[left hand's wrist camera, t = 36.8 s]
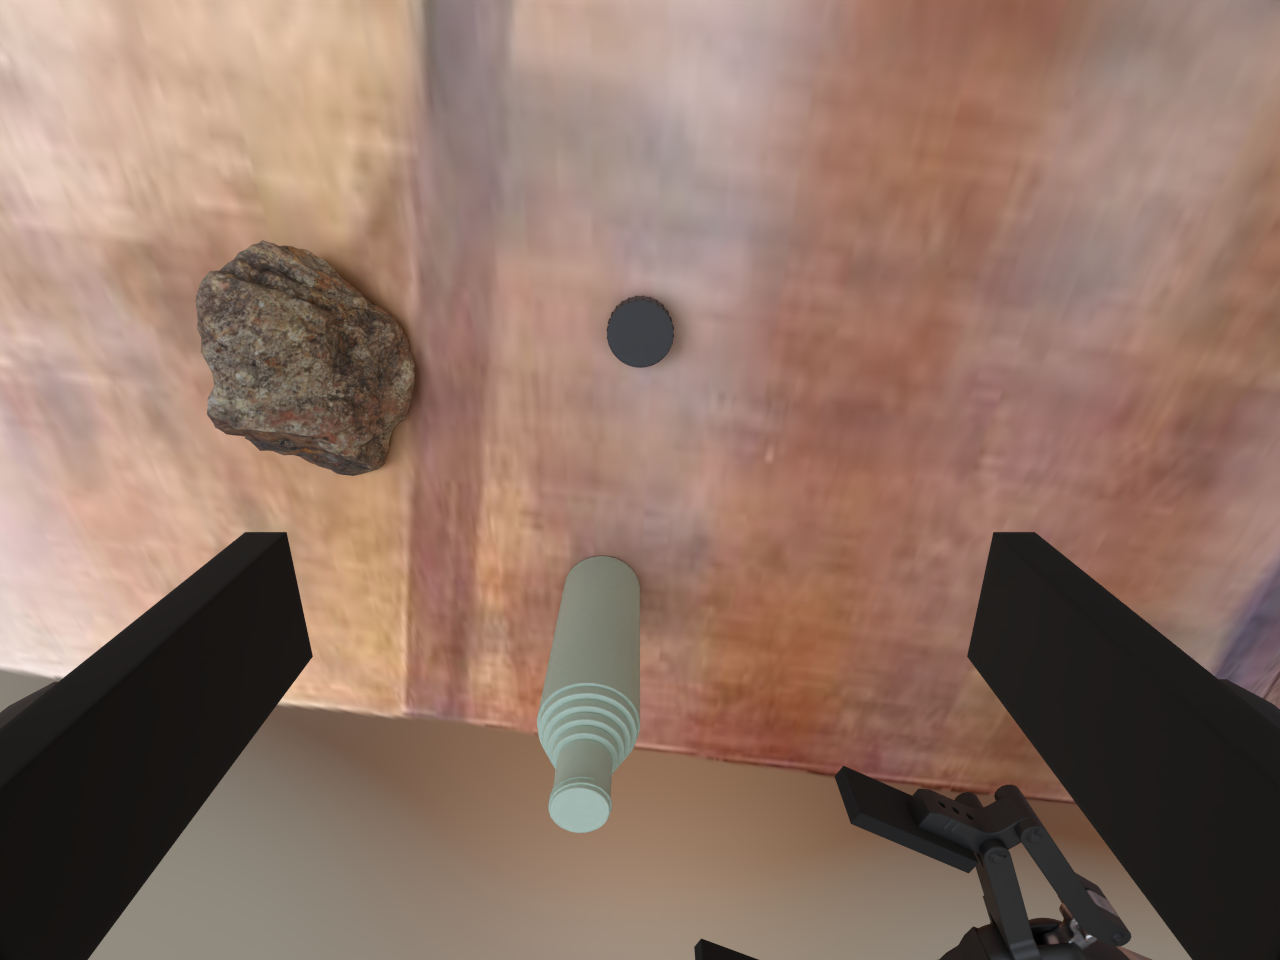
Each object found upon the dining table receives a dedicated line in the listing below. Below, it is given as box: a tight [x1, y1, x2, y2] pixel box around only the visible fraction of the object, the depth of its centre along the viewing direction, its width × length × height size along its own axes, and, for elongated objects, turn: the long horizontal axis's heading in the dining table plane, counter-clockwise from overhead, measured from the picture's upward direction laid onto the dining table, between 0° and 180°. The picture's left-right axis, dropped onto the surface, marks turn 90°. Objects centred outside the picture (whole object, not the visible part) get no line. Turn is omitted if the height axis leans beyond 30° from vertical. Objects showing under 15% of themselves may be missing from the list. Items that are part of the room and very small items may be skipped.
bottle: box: [537, 556, 640, 833], centre depth 41 cm, size 6×6×20 cm
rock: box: [196, 241, 415, 476], centre depth 40 cm, size 14×9×10 cm
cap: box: [607, 296, 674, 367], centre depth 42 cm, size 4×4×2 cm
